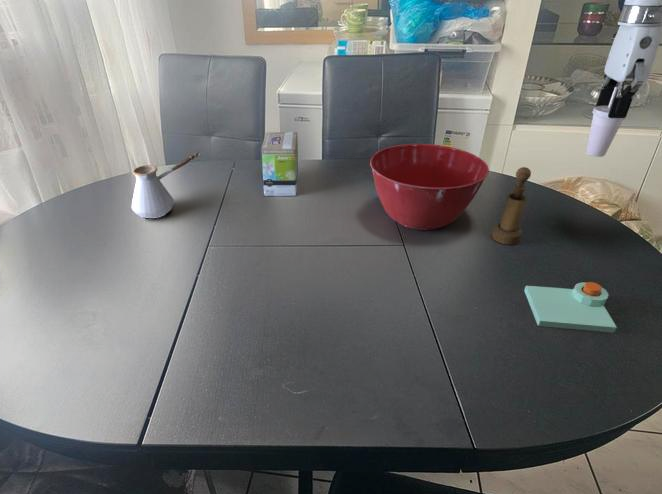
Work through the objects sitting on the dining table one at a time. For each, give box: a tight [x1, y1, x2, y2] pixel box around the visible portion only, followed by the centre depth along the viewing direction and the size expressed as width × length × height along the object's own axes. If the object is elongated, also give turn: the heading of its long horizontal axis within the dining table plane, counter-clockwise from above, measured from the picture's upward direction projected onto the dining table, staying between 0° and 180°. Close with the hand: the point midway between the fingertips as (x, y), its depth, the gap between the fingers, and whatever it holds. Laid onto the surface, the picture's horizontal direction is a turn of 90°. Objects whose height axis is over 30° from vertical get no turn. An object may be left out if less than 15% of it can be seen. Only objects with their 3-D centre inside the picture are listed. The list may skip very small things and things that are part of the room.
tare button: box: [583, 281, 603, 296], centre depth 86 cm, size 3×3×2 cm
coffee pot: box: [131, 152, 203, 218], centre depth 123 cm, size 21×12×15 cm, turn 114°
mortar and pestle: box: [491, 166, 532, 246], centre depth 104 cm, size 7×6×18 cm
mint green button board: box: [523, 281, 618, 334], centre depth 86 cm, size 14×11×3 cm
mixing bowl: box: [369, 143, 490, 231], centre depth 114 cm, size 28×28×15 cm
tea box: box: [261, 131, 299, 197], centre depth 134 cm, size 15×10×15 cm, turn 178°
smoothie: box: [585, 86, 629, 158], centre depth 96 cm, size 6×6×14 cm
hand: (610, 112), depth 95 cm, fingers closed on smoothie, 6 cm apart
